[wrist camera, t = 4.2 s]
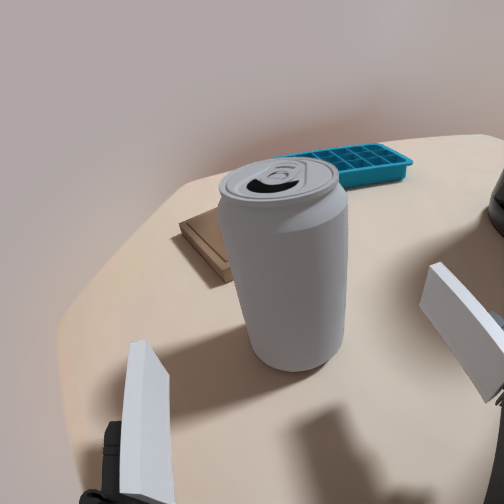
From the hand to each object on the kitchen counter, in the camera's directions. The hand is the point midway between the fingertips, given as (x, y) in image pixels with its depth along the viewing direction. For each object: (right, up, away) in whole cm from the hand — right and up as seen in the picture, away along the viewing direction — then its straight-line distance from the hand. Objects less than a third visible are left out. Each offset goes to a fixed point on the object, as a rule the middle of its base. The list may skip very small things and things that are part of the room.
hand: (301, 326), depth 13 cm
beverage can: (+1, -3, +8) cm, 9 cm away
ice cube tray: (+12, +15, +31) cm, 36 cm away
